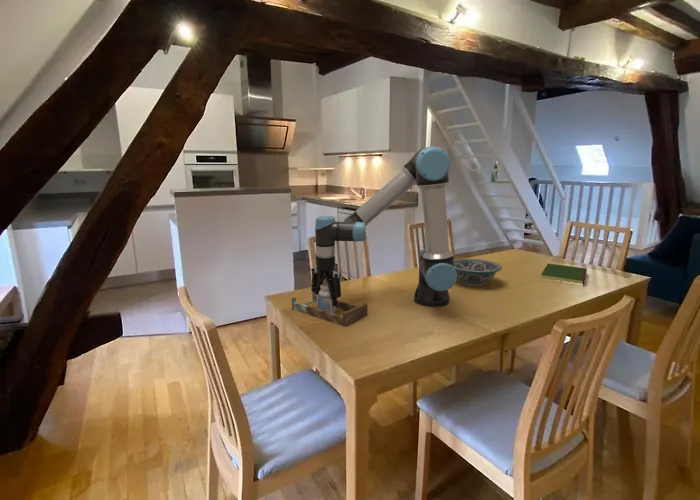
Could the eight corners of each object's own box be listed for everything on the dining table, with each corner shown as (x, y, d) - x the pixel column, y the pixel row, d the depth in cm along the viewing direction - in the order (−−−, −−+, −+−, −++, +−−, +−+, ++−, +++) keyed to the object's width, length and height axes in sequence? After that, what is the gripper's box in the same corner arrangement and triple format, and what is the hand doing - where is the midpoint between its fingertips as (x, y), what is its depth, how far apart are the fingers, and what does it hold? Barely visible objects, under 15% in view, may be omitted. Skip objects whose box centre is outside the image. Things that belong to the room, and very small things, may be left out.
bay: (374, 311, 160) (374, 294, 158) (346, 326, 146) (345, 307, 144) (319, 296, 178) (319, 280, 176) (289, 308, 164) (289, 291, 162)
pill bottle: (318, 309, 163) (318, 283, 161) (333, 308, 164) (333, 282, 161) (319, 314, 157) (318, 287, 155) (334, 314, 158) (334, 287, 155)
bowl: (443, 287, 189) (444, 268, 187) (451, 274, 212) (452, 256, 210) (499, 294, 180) (501, 274, 178) (501, 279, 203) (502, 261, 200)
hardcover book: (583, 287, 191) (584, 280, 190) (540, 281, 201) (541, 274, 200) (586, 274, 211) (587, 268, 210) (547, 269, 221) (548, 263, 220)
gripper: (350, 257, 152) (350, 313, 158) (314, 250, 164) (315, 303, 169) (338, 261, 147) (338, 319, 152) (301, 253, 158) (302, 308, 163)
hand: (326, 310), depth 161 cm, fingers open, 6 cm apart
